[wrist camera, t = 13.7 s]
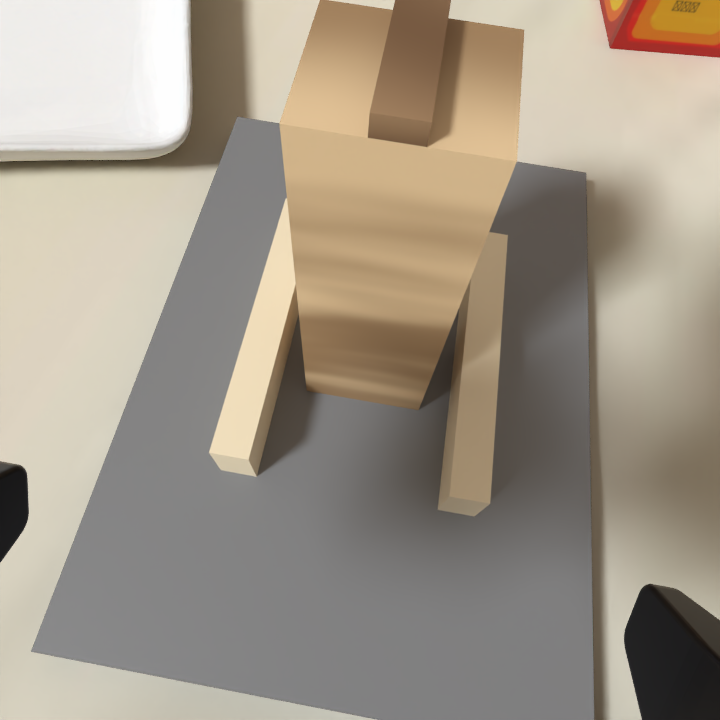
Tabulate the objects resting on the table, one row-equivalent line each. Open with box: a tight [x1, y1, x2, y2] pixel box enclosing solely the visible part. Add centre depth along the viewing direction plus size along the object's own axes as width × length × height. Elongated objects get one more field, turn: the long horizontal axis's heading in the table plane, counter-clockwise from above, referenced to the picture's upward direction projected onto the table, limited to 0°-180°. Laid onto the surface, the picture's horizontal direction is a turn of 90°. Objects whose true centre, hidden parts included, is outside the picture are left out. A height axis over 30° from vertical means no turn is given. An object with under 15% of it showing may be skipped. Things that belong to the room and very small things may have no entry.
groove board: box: [31, 117, 594, 720], centre depth 20 cm, size 22×16×3 cm
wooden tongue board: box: [279, 0, 524, 410], centre depth 15 cm, size 4×4×12 cm
